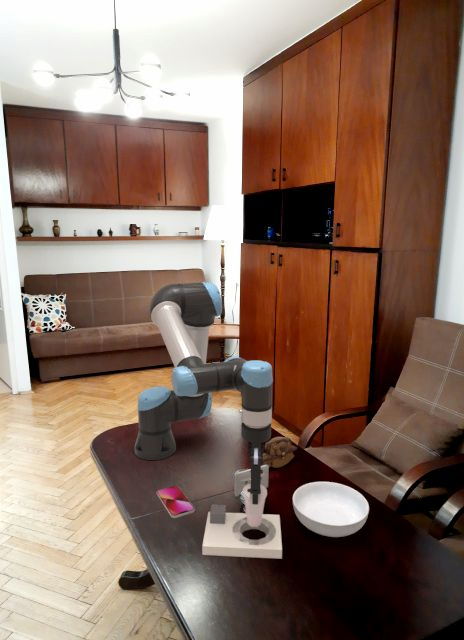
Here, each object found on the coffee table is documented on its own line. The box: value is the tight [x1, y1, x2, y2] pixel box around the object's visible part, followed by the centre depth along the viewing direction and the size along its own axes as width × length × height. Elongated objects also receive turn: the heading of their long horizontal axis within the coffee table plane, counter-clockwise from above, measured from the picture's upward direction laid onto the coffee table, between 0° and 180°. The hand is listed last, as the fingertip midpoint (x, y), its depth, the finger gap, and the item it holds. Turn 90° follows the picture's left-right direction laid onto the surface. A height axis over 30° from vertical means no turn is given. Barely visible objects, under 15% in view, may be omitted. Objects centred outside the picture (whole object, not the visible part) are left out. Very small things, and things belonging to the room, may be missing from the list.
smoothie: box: [243, 484, 268, 527], centre depth 117 cm, size 6×6×14 cm
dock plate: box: [201, 504, 283, 560], centre depth 119 cm, size 14×20×6 cm
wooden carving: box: [261, 436, 298, 468], centre depth 155 cm, size 16×5×10 cm, turn 128°
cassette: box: [233, 464, 270, 497], centre depth 140 cm, size 12×2×8 cm, turn 118°
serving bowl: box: [292, 481, 370, 538], centre depth 125 cm, size 21×21×7 cm
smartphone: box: [155, 485, 196, 519], centre depth 135 cm, size 7×1×15 cm
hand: (255, 504), depth 117 cm, fingers closed on smoothie, 6 cm apart
